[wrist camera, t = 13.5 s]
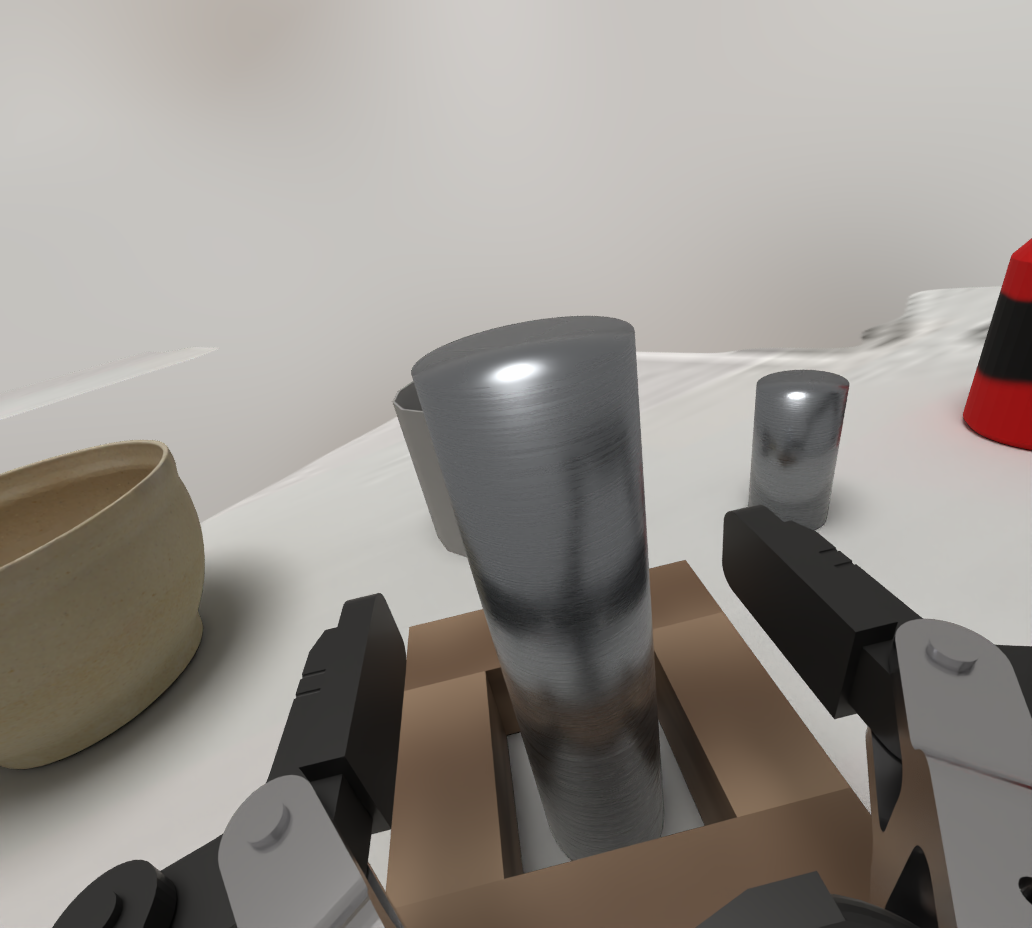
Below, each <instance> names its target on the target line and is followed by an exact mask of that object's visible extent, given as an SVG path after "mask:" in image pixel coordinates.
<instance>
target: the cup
mask: <svg viewBox="0 0 1032 928" xmlns="http://www.w3.org/2000/svg"><path fill="white" fill-rule="evenodd" d="M393 405H394V408H395V411H396V414H397V417H398V420H399V423H400V426H401V429H402V432H403V435H404V438H405V441H406V443H407V446H408V449H409V452H410V455H411V458H412V461H413V464H414V467H415V470H416V473H417V476H418V479H419V482H420V485H421V488H422V491H423V494H424V497H425V500H426V503H427V506H428V509H429V512H430V515H431V518H432V521H433V524H434V527H435V530H436V533H437V536H438V538H439V539H440V540H441V542H442V543H443V545H444V546H445V547H446V549H447V550H448V551H450V552H453V553H456V554H459V555H462V556H464V557H467V555H466V551H465V548H464V545H463V542H462V538H461V535H460V532H459V529H458V525H457V522H456V519H455V515H454V512H453V509H452V506H451V502H450V499H449V496H448V493H447V489H446V486H445V483H444V479H443V476H442V473H441V470H440V466H439V463H438V460H437V456H436V453H435V450H434V447H433V443H432V440H431V437H430V434H429V430H428V427H427V424H426V420H425V417H424V414H423V411H422V407H421V404H420V401H419V397H418V394H417V391H416V388H415V384H414V381H413V382H411V383H409V384H408V385H406V386H405V387H404V388H402V389H400V390H399V391H398V392H397V394H396V396H395V398H394V400H393Z"/></svg>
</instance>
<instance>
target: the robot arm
mask: <svg viewBox="0 0 1032 928" xmlns="http://www.w3.org/2000/svg"><path fill="white" fill-rule="evenodd" d="M722 566H723V571H724V575H725V577H726V580H727V582H728V584H729V586H730V588H731V589H732V590H733V592H734V593H735V594H736V595H737V597H738V598H739V599H740V601H741V602H742V603H743V604H744V606H745V607H746V608H747V609H748V611H749V612H750V613H751V614H752V616H753V617H754V618H755V619H756V621H757V622H758V623H759V625H760V626H761V627H762V628H763V630H764V631H765V632H766V633H767V635H768V636H769V637H770V638H771V640H772V641H773V642H774V643H775V645H776V646H777V647H778V649H779V650H780V651H781V652H782V654H783V655H784V656H785V657H786V659H787V660H788V661H789V662H790V664H791V665H792V666H793V667H794V669H795V670H796V671H797V673H798V674H799V675H800V676H801V678H802V679H803V680H804V681H805V683H806V684H807V685H808V686H809V688H810V689H811V690H812V691H813V693H814V694H815V695H816V697H817V698H818V699H819V700H820V702H821V703H822V704H823V705H824V707H825V708H826V709H827V710H828V712H829V713H830V714H831V715H832V717H833V718H834V719H837V718H841V717H845V716H849V715H853V714H858V715H859V716H860V717H861V718H862V720H863V721H864V722H865V723H866V724H867V729H866V750H867V763H868V777H869V790H870V803H871V817H872V830H873V854H872V863H871V871H870V903H867V902H865V901H862V900H859V899H854V898H850V897H846V896H841V895H837V894H830V892H829V891H828V889H827V887H826V885H825V884H824V882H823V880H822V879H821V877H820V875H819V873H818V872H817V871H814V872H810V873H806V874H802V875H798V876H795V877H791V878H787V879H783V880H780V881H776V882H772V883H768V884H764V885H761V886H757V887H753V888H749V889H747V890H745V891H744V892H743V893H741V894H740V895H738V896H737V897H736V898H734V899H733V900H732V901H730V902H729V903H728V904H726V905H725V906H724V907H722V908H721V909H720V910H718V911H717V912H716V913H714V914H713V915H712V916H710V917H709V918H707V919H706V920H705V921H703V922H702V923H701V924H699V925H698V926H697V927H695V928H1032V646H1008V645H994V644H993V643H992V642H990V641H989V640H987V639H986V638H984V637H983V636H981V635H979V634H977V633H975V632H974V631H972V630H969V629H967V628H965V627H962V626H959V625H956V624H954V623H950V622H946V621H941V620H935V619H923V618H922V617H920V616H919V615H918V614H916V613H915V612H914V611H913V610H912V609H910V608H909V607H908V606H907V605H905V604H904V603H903V602H902V601H901V600H899V599H898V598H897V597H896V596H894V595H893V594H892V593H891V592H890V591H888V590H887V589H886V588H885V587H883V586H882V585H881V584H880V583H878V582H877V581H876V580H875V579H874V578H872V577H871V576H870V575H869V574H867V573H866V572H865V571H864V570H863V569H861V568H860V567H859V566H858V565H854V564H853V563H852V560H850V559H849V558H848V557H847V556H845V555H844V554H843V553H842V552H841V551H837V550H836V547H834V546H833V545H832V544H831V543H830V542H828V541H827V540H826V539H825V538H823V537H822V536H821V535H820V534H819V533H817V532H816V531H814V530H811V529H809V528H807V527H805V526H802V525H800V524H798V523H796V522H794V521H787V522H783V521H782V520H781V519H780V518H779V517H777V516H776V515H775V514H774V513H773V512H772V511H770V510H769V509H768V508H767V507H766V506H764V505H761V504H760V505H754V506H750V507H746V508H742V509H737V510H733V511H729V512H727V513H726V514H725V517H724V530H723V555H722ZM302 677H303V678H302V679H300V682H299V685H298V688H297V692H296V699H294V701H293V704H292V707H291V710H290V713H289V716H288V719H287V722H286V725H285V728H284V731H283V734H282V738H281V741H280V744H279V747H278V750H277V753H276V756H275V759H274V762H273V765H272V768H271V771H270V774H269V777H268V779H267V782H266V784H264V785H263V786H261V787H260V788H259V789H257V790H256V791H255V792H253V793H252V794H251V795H250V796H249V797H248V798H247V799H246V800H245V801H244V802H243V803H242V805H241V806H240V807H239V808H238V809H237V811H236V812H235V814H234V815H233V816H232V818H231V820H230V821H229V823H228V825H227V827H226V829H225V831H224V833H223V834H222V835H220V836H219V837H217V838H216V839H214V840H212V841H211V842H209V843H207V844H206V845H204V846H202V847H201V848H199V849H197V850H195V851H194V852H192V853H190V854H189V855H187V856H185V857H183V858H182V859H180V860H178V861H177V862H175V863H173V864H171V865H170V866H168V867H166V868H165V869H163V870H161V871H159V870H158V869H156V868H155V867H154V866H153V865H151V864H150V863H149V862H147V861H144V860H132V861H128V862H125V863H122V864H120V865H118V866H116V867H114V868H112V869H110V870H108V871H107V872H105V873H104V874H103V875H101V876H100V877H98V878H97V879H96V880H95V881H93V882H92V883H91V884H90V885H88V886H87V887H86V888H85V889H84V890H83V891H82V892H81V893H80V894H79V895H78V896H77V897H76V898H75V899H74V900H73V901H72V902H71V904H70V905H69V906H68V907H67V908H66V910H65V911H64V912H63V913H62V915H61V916H60V917H59V919H58V920H57V921H56V923H55V924H54V926H53V927H52V928H406V926H405V924H404V923H403V921H402V919H401V918H400V916H399V914H398V912H397V911H396V909H395V907H394V905H393V904H392V902H391V900H390V899H389V897H388V895H387V893H386V892H385V890H384V888H383V886H382V885H381V883H380V881H379V880H378V878H377V876H376V874H375V873H374V871H373V869H372V867H371V866H370V864H369V863H368V856H369V848H370V840H371V834H374V833H378V832H382V831H386V830H390V829H391V827H392V816H393V806H394V795H395V784H396V773H397V763H398V752H399V741H400V730H401V720H402V709H403V698H404V687H405V677H406V652H405V646H404V642H403V639H402V637H401V634H400V632H399V630H398V627H397V625H396V623H395V621H394V618H393V616H392V614H391V611H390V609H389V607H388V605H387V602H386V600H385V598H384V596H383V595H382V594H381V593H377V594H373V595H369V596H364V597H360V598H356V599H352V600H348V601H346V602H345V603H344V606H343V609H342V612H341V616H340V620H339V623H338V627H336V628H332V629H328V630H325V631H324V633H323V634H322V635H321V637H320V638H319V639H318V641H317V642H316V644H315V645H314V646H313V648H312V649H311V650H310V652H309V655H308V658H307V661H306V664H305V667H304V670H303V673H302Z"/></svg>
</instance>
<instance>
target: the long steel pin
mask: <svg viewBox="0 0 1032 928" xmlns="http://www.w3.org/2000/svg"><path fill="white" fill-rule="evenodd" d="M411 374H412V377H413V381H414V384H415V388H416V391H417V394H418V397H419V401H420V404H421V407H422V411H423V414H424V417H425V420H426V424H427V427H428V430H429V434H430V437H431V440H432V443H433V447H434V450H435V453H436V456H437V460H438V463H439V466H440V470H441V473H442V476H443V479H444V483H445V486H446V489H447V493H448V496H449V499H450V502H451V506H452V509H453V512H454V515H455V519H456V522H457V525H458V529H459V532H460V535H461V538H462V542H463V545H464V548H465V551H466V555H467V558H468V561H469V565H470V568H471V571H472V574H473V578H474V581H475V584H476V588H477V591H478V594H479V597H480V601H481V604H482V607H483V610H484V614H485V617H486V620H487V624H488V627H489V630H490V633H491V637H492V640H493V643H494V647H495V650H496V653H497V656H498V660H499V663H500V666H501V669H502V673H503V676H504V679H505V683H506V686H507V689H508V692H509V696H510V699H511V702H512V706H513V709H514V712H515V715H516V719H517V722H518V725H519V728H520V732H521V735H522V738H523V742H524V745H525V748H526V751H527V755H528V758H529V761H530V765H531V768H532V771H533V774H534V778H535V781H536V784H537V787H538V791H539V794H540V797H541V801H542V804H543V807H544V810H545V814H546V817H547V820H548V824H549V827H550V829H551V832H552V834H553V836H554V838H555V840H556V842H557V844H558V845H559V847H560V848H561V849H562V851H563V852H564V853H565V854H566V855H567V856H568V857H569V858H570V859H571V860H572V861H574V860H578V859H582V858H585V857H589V856H593V855H597V854H601V853H604V852H608V851H612V850H616V849H619V848H623V847H627V846H631V845H635V844H638V843H642V842H646V841H650V840H653V839H657V838H660V835H661V831H662V826H663V817H664V809H663V793H662V776H661V760H660V743H659V727H658V710H657V694H656V677H655V660H654V644H653V627H652V611H651V594H650V578H649V561H648V544H647V528H646V511H645V495H644V478H643V462H642V445H641V429H640V412H639V395H638V379H637V362H636V347H635V331H634V328H633V326H632V325H631V324H629V323H628V322H626V321H623V320H620V319H616V318H610V317H600V316H570V317H557V318H548V319H540V320H534V321H527V322H522V323H517V324H512V325H507V326H503V327H499V328H494V329H491V330H487V331H483V332H480V333H476V334H473V335H470V336H467V337H464V338H461V339H459V340H456V341H453V342H451V343H449V344H446V345H444V346H442V347H440V348H438V349H435V350H434V351H432V352H430V353H429V354H427V355H425V356H424V357H422V358H421V359H420V360H419V361H418V362H416V364H415V365H414V366H413V368H412V370H411Z"/></svg>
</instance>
